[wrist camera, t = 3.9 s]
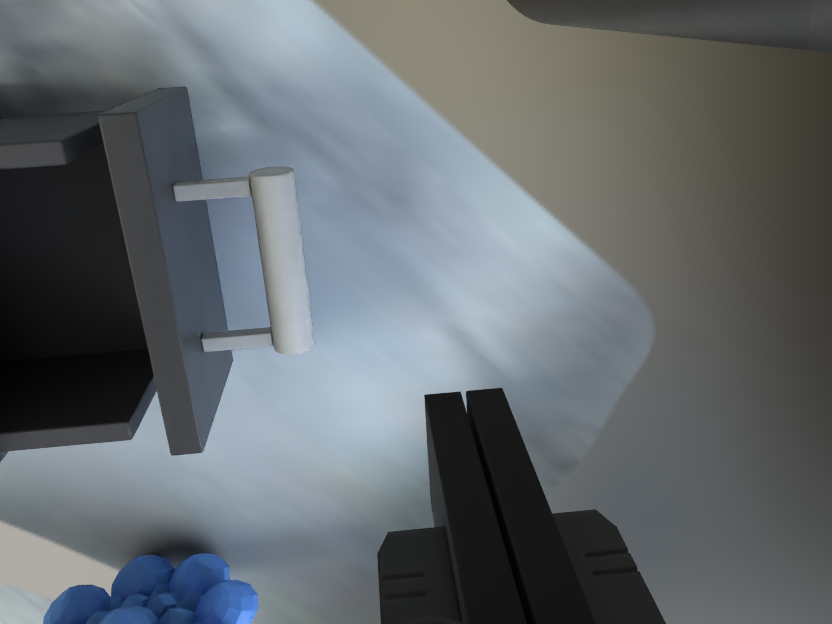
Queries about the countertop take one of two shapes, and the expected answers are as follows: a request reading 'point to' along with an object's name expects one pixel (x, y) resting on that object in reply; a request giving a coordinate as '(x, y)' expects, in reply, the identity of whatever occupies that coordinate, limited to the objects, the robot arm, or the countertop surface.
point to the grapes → (160, 595)
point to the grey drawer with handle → (127, 275)
